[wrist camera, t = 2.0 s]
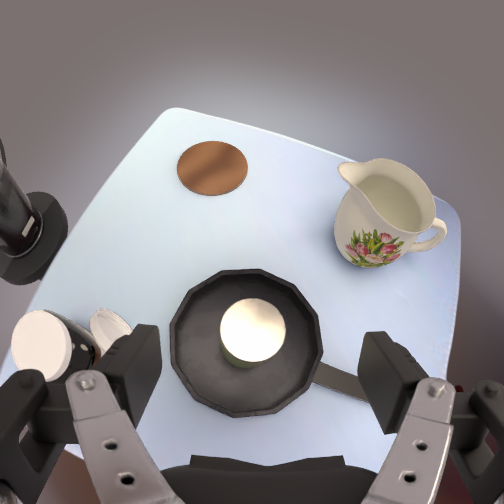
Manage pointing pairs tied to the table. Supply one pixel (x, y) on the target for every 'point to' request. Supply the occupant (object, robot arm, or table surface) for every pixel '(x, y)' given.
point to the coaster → (212, 168)
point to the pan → (267, 373)
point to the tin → (251, 332)
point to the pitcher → (384, 213)
